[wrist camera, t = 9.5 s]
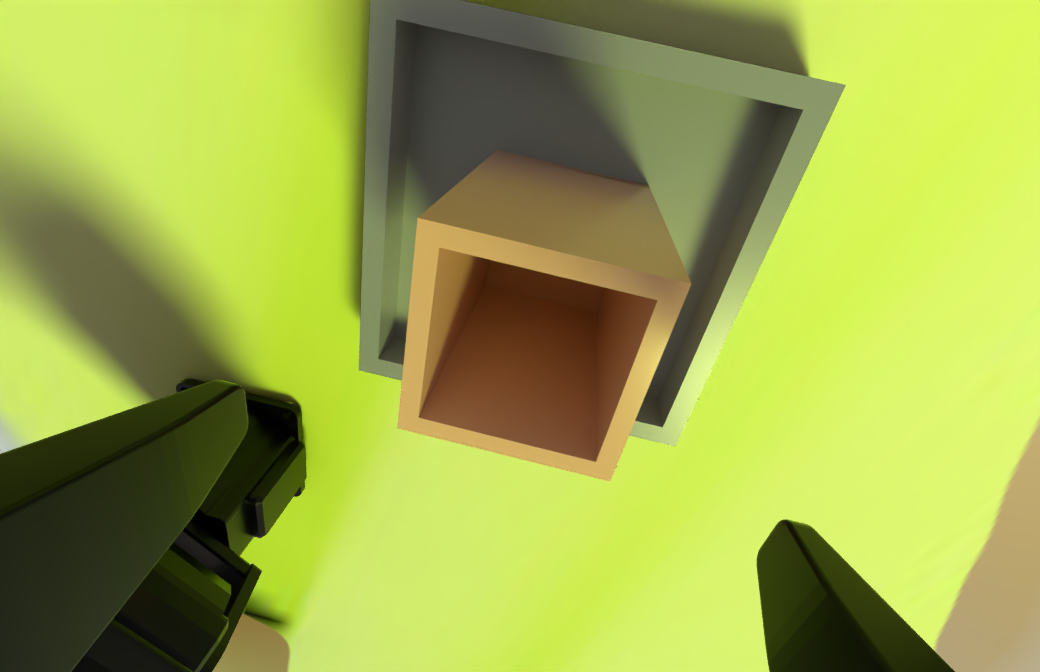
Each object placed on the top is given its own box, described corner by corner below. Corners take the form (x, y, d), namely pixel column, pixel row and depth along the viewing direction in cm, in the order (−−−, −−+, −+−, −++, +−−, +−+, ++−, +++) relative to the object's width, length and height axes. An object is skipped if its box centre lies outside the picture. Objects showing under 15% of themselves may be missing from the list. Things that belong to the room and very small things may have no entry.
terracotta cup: (474, 287, 20) (397, 427, 12) (498, 149, 17) (417, 217, 10) (605, 319, 20) (610, 481, 12) (649, 185, 17) (691, 283, 10)
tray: (381, 341, 23) (358, 370, 21) (401, -9, 16) (370, -20, 14) (667, 409, 22) (675, 446, 20) (811, 82, 16) (845, 85, 14)
